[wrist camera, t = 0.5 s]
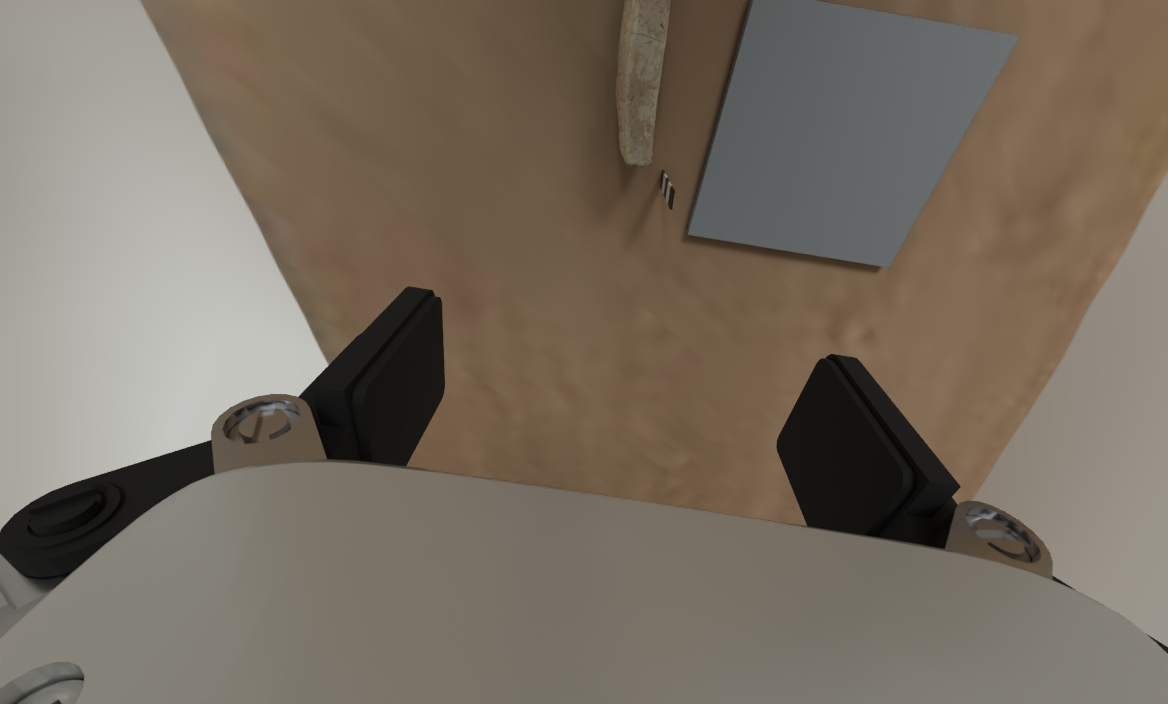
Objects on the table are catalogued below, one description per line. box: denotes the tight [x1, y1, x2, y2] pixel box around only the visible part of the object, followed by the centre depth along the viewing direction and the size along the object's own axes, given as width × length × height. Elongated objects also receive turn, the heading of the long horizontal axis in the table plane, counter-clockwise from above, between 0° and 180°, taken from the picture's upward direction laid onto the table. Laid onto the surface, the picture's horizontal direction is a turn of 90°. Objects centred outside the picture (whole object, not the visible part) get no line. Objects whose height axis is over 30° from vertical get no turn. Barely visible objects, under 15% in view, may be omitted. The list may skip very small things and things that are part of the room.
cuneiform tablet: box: [615, 0, 675, 210], centre depth 26 cm, size 6×4×12 cm
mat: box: [687, 0, 1020, 268], centre depth 29 cm, size 14×15×1 cm
